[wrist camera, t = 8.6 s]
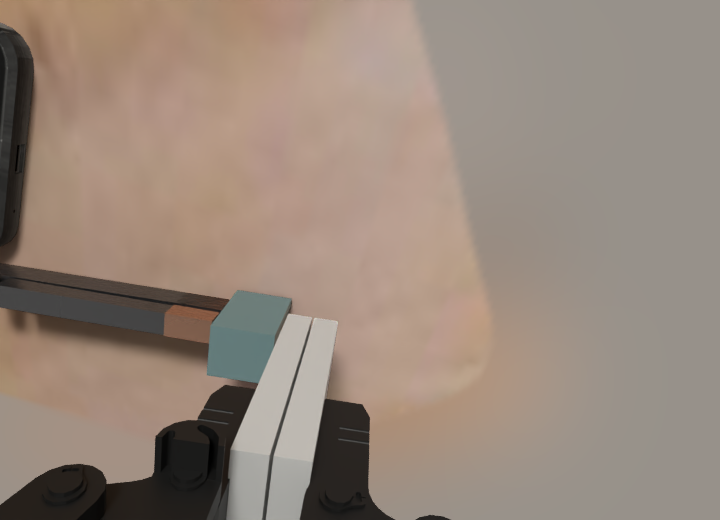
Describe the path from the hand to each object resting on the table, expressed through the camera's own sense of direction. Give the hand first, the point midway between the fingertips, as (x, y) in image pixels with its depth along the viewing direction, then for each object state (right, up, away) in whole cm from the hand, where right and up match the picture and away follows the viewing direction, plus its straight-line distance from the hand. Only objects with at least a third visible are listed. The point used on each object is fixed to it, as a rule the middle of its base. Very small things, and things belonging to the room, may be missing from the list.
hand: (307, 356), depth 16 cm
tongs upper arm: (-7, +2, +1) cm, 8 cm away
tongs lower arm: (-7, +2, +3) cm, 8 cm away
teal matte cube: (-2, +1, +3) cm, 3 cm away
